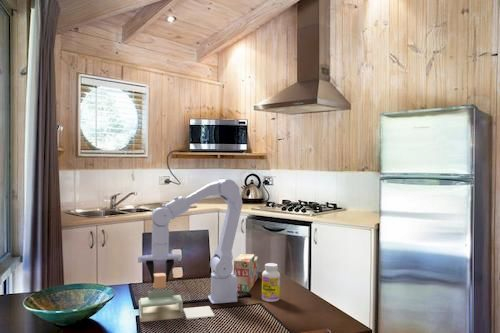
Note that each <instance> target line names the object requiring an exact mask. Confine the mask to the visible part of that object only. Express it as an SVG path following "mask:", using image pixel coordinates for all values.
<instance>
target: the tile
mask: <svg viewBox="0 0 500 333" xmlns="http://www.w3.org/2000/svg"><path fill="white" fill-rule="evenodd" d="M183 314H184V316H185V318H186V320H187V321H188V320H200V319H199V318H201V319H209V318H208V317H211V318H215V317H216V315H215V313H214V312H213V310H212V308H211V307H210V305H205V306H194V307H184V308H183Z"/></svg>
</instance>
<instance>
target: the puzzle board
mask: <svg viewBox="0 0 500 333" xmlns="http://www.w3.org/2000/svg"><path fill="white" fill-rule="evenodd" d="M138 311H139V312H138V313H139V315H138V316H139V323H145V322H155V321H164V320H174V319H175V320H176V319H183V318H184V316H185V314H184V311H183V312H180V309H179V306H178V303H177V304H166V305H154V306H143V316H141V313H140V299H138Z"/></svg>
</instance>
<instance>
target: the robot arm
mask: <svg viewBox="0 0 500 333" xmlns="http://www.w3.org/2000/svg"><path fill="white" fill-rule="evenodd" d="M240 193H241V192H240V187H239V186H238V184H237V183H236V181H235V180H234V179H229V178H228V179H226V178H219V179H217V180H215V181H212V182H210V183H208V184H206V185H204V186H202V187H201V188H199V189H198V190H196V191H195V192H192V193H190V194H189V195H187V196H186V197H184V196H176V195H175V197H174V198H173V200H171V201H169V202H167V203H166V204H165V203H162V205H161V206H162V207H156V208H155V209H154V210H153V211H152V212H151V215H150V219H151V220H152V225H151V227H152V229H151V254H146V255H145V254H144V255H138V256H137V263H140V264H141V263H145V264H146V267H147V269H148V273H149V275H150V279H151V280H150V281H151V284H153V283H154V272H155V271H154V270H155V263H154V262H165V272H164V273H165V274H166V283H169V282H168V281H169V277H170V274H171V271H172V269H173V266H174V265H175V262H174V261H178V262H180V261H182V254H181V253H169V251H170V250H169V246H170V245H169V243H170V242H169V240H170V238H169V237H170V233H169V232H170V230H169V224H170V221H171V220H174V219H175V218H177V217H180V216H181V215H182V214H184V213H187V212H188V211H189V209H190V207H191V205H193V204H194V205H195V204H196V203H198V202H199V201H202V200H203V199H206V198H207V197H210V196H220V198H222V199H223V201H224V202H225V204H226V205H227V208H226V212H225V216H224V220H223V225H222V229H221V233H220V237H219V242H218V246H217V247H216V249H215V250H214V253H213V256H212V257H211V258H210V261H209V267H210V269H211V270H212V271H211V274H210V294H209V295H207V298H208V299H209V301H210V303H211V304H212V305H213V304H226V303H237V302H238V291H237V277H236V275H234V274H233V271H234V264H233V259H234V258H233V252H232V250H233V246H234V243H235V238H236V234H237V230H238V226H239V221H240V217H241V212H242V207H243V199H242V196H241V194H240Z"/></svg>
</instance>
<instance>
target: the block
mask: <svg viewBox="0 0 500 333" xmlns="http://www.w3.org/2000/svg"><path fill="white" fill-rule="evenodd" d="M165 273H166V272H156V273H154V283H152V285H153V286H152V287H153V289H165V288H167V282H166V274H165Z"/></svg>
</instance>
